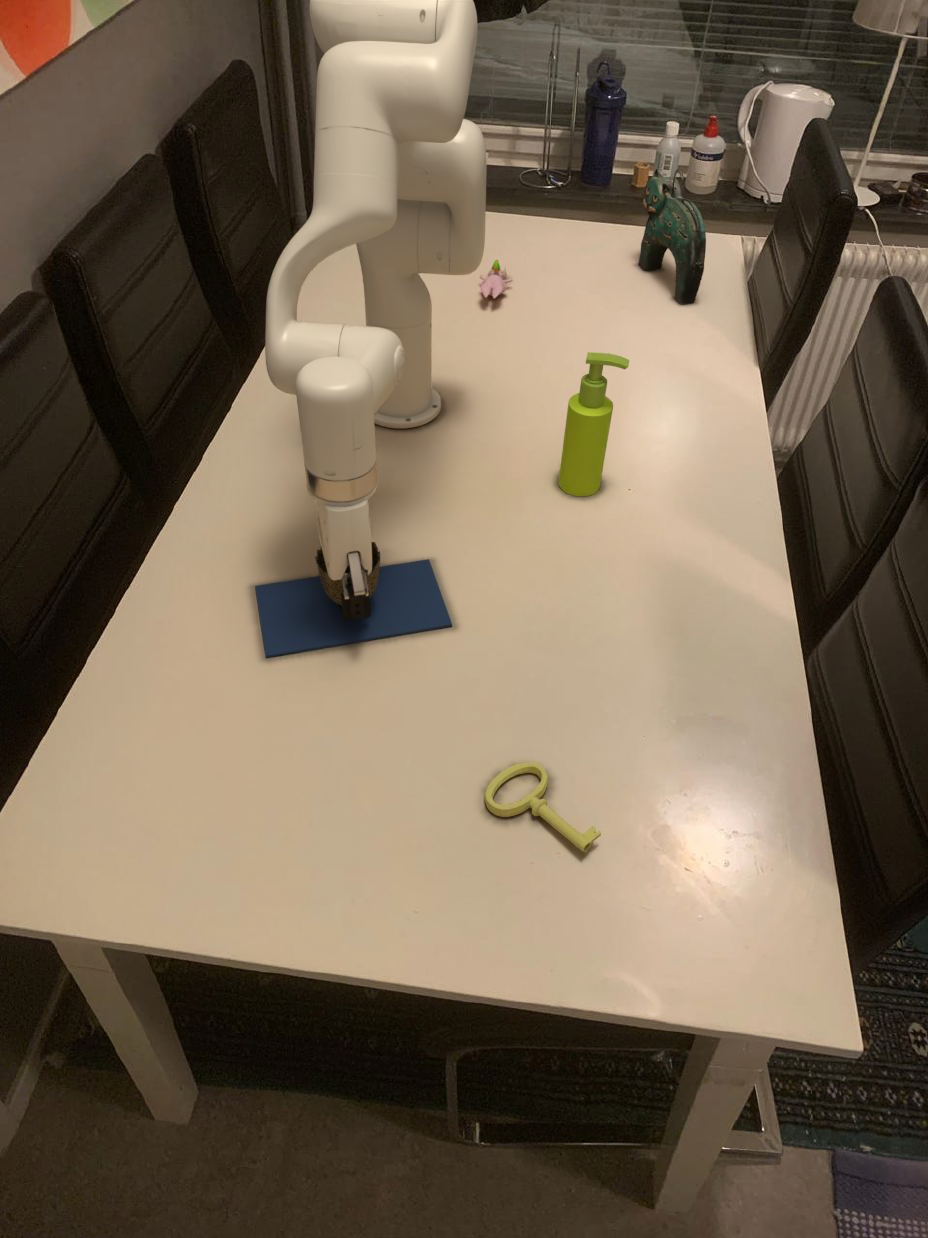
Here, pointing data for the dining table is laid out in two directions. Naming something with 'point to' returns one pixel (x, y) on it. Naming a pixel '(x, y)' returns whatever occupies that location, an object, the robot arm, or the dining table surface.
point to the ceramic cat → (673, 235)
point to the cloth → (315, 621)
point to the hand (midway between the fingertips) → (351, 593)
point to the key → (536, 804)
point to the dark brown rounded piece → (335, 587)
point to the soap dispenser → (588, 429)
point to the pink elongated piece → (495, 281)
